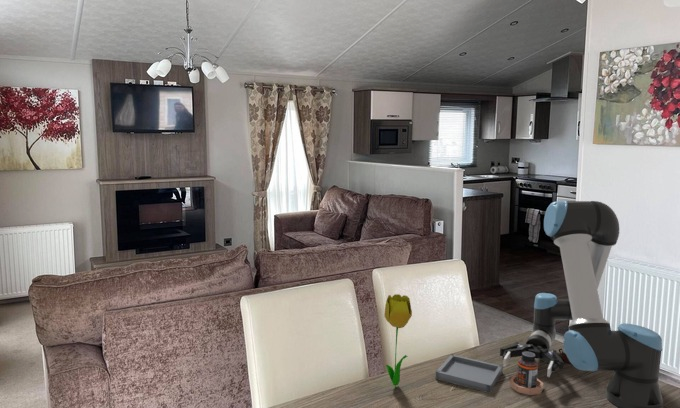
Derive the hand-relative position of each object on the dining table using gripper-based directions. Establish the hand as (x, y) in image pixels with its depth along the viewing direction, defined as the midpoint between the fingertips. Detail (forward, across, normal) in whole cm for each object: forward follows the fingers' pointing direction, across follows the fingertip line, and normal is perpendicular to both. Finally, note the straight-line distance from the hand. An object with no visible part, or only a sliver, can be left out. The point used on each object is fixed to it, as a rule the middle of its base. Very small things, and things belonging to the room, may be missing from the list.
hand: (526, 367), depth 166 cm
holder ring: (0, 0, -6) cm, 7 cm away
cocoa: (-28, -10, -7) cm, 31 cm away
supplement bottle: (0, 0, -7) cm, 7 cm away
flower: (+22, +35, -7) cm, 42 cm away
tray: (+2, +18, -6) cm, 19 cm away
